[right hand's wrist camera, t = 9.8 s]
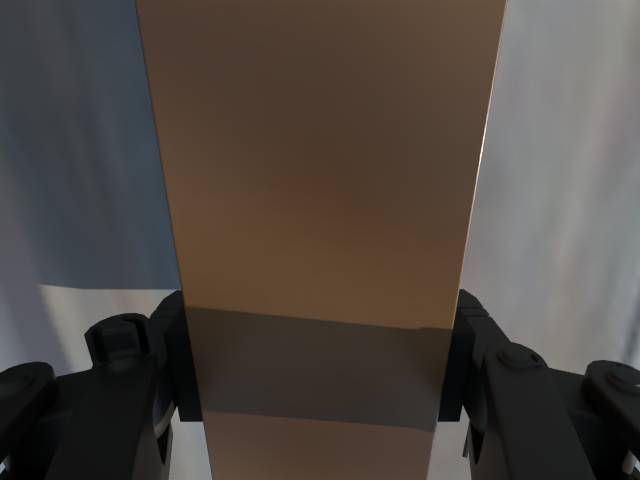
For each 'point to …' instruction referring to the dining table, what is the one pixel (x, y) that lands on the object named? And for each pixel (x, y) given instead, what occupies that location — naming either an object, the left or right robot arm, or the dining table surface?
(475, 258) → the dining table surface
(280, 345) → the beam
